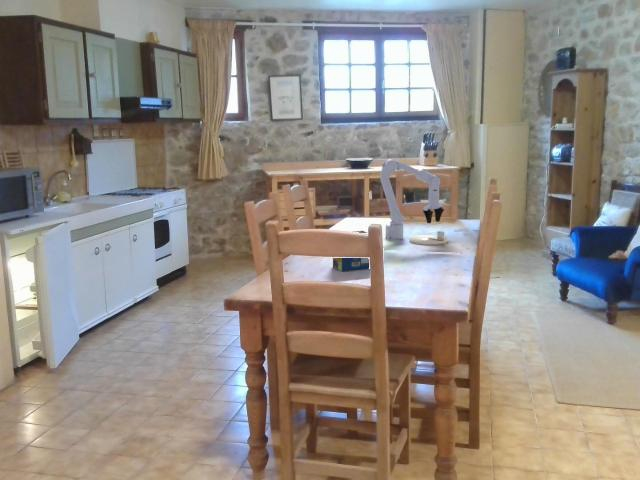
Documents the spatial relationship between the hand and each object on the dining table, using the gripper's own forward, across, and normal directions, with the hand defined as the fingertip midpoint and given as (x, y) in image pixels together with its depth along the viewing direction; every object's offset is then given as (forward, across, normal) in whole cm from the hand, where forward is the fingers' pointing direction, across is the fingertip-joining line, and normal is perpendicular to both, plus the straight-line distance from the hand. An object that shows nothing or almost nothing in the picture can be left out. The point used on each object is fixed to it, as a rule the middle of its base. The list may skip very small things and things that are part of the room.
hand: (433, 222), depth 332 cm
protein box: (+10, -78, -16) cm, 81 cm away
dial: (+8, -11, -6) cm, 15 cm away
